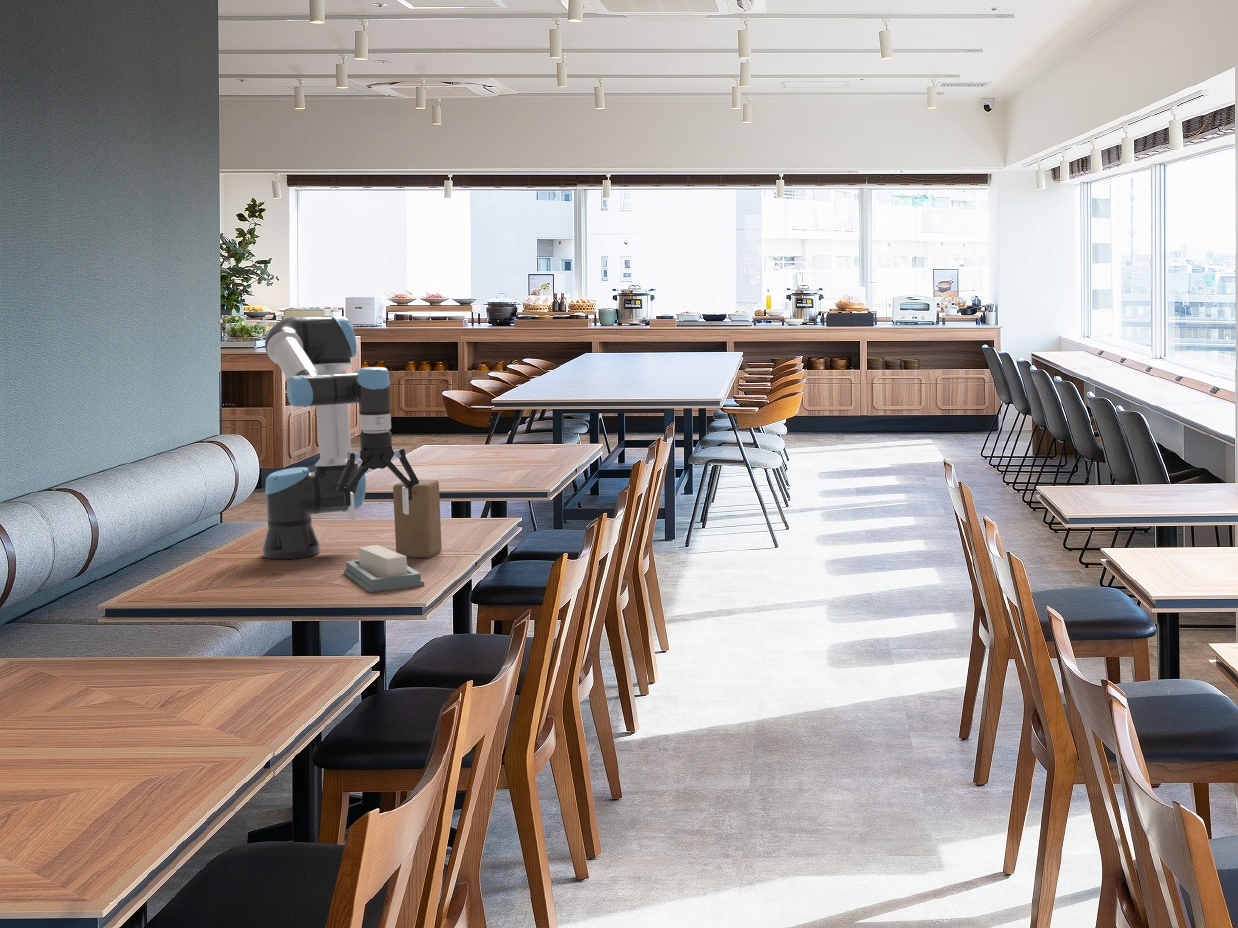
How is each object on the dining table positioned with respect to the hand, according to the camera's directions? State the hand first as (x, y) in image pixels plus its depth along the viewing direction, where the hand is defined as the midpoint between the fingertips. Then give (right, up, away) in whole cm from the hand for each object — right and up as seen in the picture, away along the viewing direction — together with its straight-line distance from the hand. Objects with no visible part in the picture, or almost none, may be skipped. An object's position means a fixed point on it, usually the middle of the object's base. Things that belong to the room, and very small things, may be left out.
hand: (379, 516), depth 307 cm
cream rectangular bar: (+1, -15, +1) cm, 15 cm away
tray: (+1, -16, +2) cm, 16 cm away
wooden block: (+5, -12, +30) cm, 33 cm away
